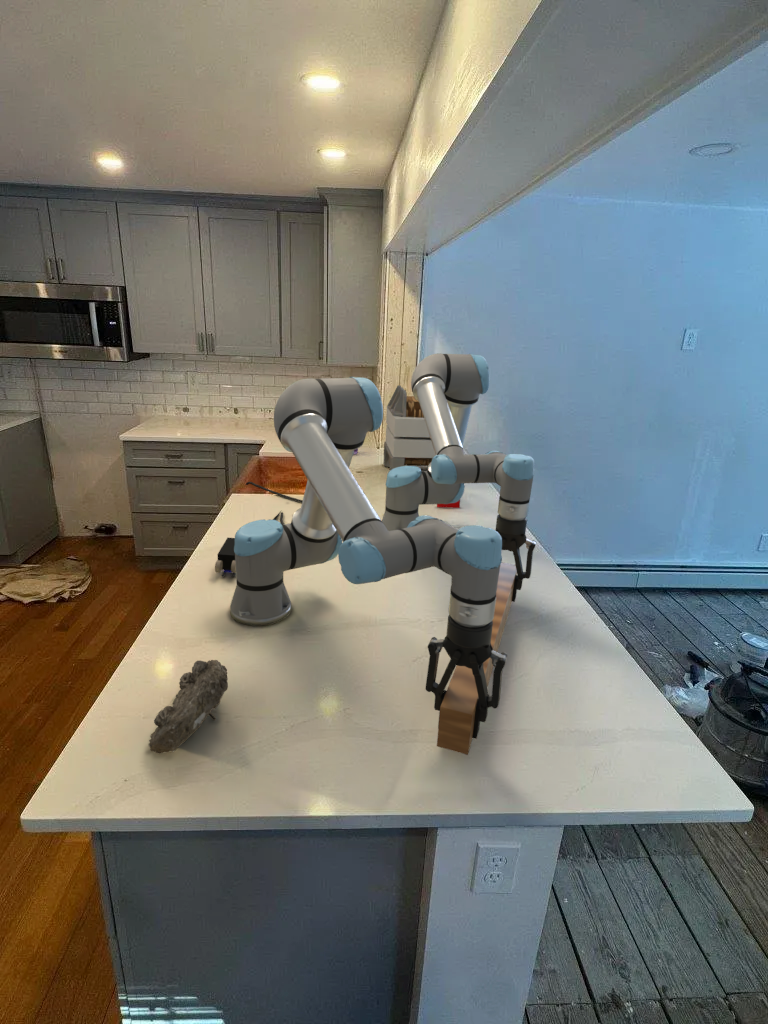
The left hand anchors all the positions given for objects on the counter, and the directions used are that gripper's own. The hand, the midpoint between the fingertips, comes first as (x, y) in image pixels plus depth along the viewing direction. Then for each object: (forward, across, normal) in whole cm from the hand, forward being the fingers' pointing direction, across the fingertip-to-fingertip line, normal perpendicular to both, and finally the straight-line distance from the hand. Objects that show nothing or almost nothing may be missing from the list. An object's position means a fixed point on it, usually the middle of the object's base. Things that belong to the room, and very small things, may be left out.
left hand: (458, 728), depth 103 cm
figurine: (+4, -101, +192) cm, 217 cm away
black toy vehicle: (+4, -78, +45) cm, 90 cm away
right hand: (0, 0, +54) cm, 54 cm away
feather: (+4, -88, +92) cm, 128 cm away
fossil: (+3, -48, -12) cm, 50 cm away
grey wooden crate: (+4, -57, +172) cm, 182 cm away
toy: (+4, -37, +141) cm, 146 cm away
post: (+1, 0, +27) cm, 27 cm away
